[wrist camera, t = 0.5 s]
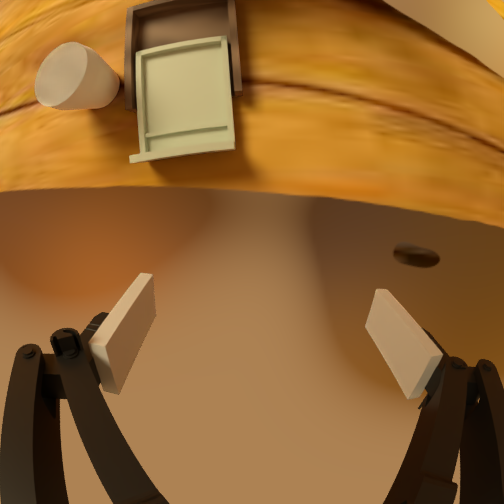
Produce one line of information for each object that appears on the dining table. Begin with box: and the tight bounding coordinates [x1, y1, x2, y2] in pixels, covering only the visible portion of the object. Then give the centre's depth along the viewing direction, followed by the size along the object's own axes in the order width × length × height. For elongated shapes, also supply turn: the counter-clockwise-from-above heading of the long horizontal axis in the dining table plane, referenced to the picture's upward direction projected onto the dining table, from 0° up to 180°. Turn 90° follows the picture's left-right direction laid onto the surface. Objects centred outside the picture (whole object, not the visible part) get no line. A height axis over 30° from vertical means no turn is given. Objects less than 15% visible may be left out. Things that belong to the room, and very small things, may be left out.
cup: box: [35, 42, 120, 110], centre depth 27 cm, size 9×9×12 cm
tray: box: [129, 35, 236, 163], centre depth 31 cm, size 17×13×6 cm
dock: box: [124, 0, 243, 113], centre depth 30 cm, size 18×16×3 cm
